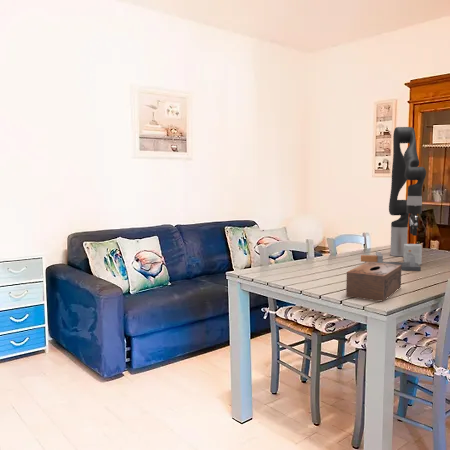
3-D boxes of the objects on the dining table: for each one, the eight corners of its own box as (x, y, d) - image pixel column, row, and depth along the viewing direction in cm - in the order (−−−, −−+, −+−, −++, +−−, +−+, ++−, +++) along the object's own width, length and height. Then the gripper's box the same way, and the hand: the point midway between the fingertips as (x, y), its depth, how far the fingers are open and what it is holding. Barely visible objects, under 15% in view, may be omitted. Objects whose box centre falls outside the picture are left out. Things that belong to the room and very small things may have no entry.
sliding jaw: (360, 260, 245) (360, 251, 245) (380, 261, 243) (380, 252, 242) (361, 264, 234) (361, 255, 233) (382, 265, 231) (382, 256, 231)
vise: (364, 264, 245) (365, 251, 244) (416, 266, 238) (417, 253, 238) (366, 269, 233) (366, 255, 233) (420, 271, 227) (421, 257, 226)
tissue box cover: (383, 302, 173) (383, 276, 171) (346, 296, 181) (346, 272, 180) (400, 288, 194) (401, 265, 192) (366, 284, 202) (367, 261, 201)
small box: (418, 262, 249) (418, 243, 248) (421, 264, 243) (422, 245, 242) (403, 262, 250) (403, 243, 249) (406, 264, 244) (406, 245, 243)
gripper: (404, 203, 251) (404, 233, 253) (408, 205, 237) (407, 236, 239) (419, 203, 249) (418, 233, 251) (424, 205, 235) (423, 236, 237)
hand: (413, 234), depth 245 cm, fingers open, 8 cm apart
